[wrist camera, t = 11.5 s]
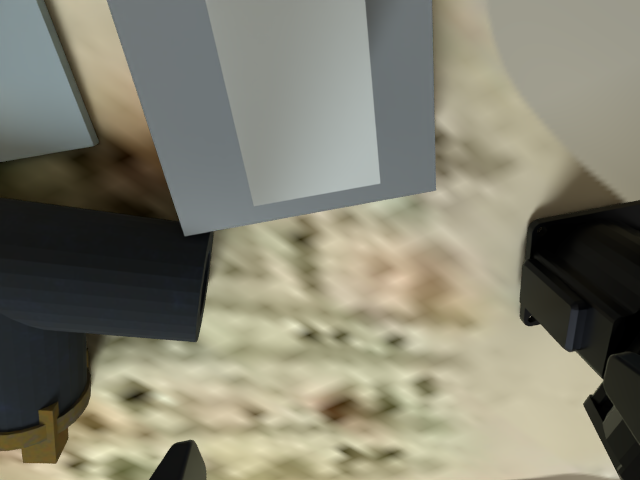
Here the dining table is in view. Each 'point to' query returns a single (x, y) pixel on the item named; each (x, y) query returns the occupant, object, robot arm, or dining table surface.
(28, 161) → the dining table surface
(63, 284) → the pipe connector
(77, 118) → the slate mat
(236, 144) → the header
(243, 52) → the grey plug
